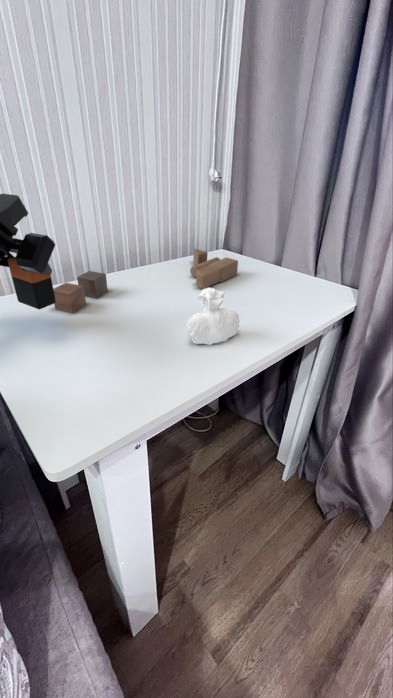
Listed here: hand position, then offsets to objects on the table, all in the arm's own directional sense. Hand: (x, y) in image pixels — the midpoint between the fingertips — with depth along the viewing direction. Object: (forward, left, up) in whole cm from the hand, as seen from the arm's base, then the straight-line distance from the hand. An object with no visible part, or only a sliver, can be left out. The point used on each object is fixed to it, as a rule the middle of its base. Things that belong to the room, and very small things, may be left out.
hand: (35, 269), depth 66 cm
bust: (+31, -18, -12) cm, 38 cm away
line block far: (+12, +12, -12) cm, 21 cm away
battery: (-1, -1, -7) cm, 7 cm away
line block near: (+6, +6, -12) cm, 14 cm away
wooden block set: (+44, +16, -12) cm, 48 cm away
